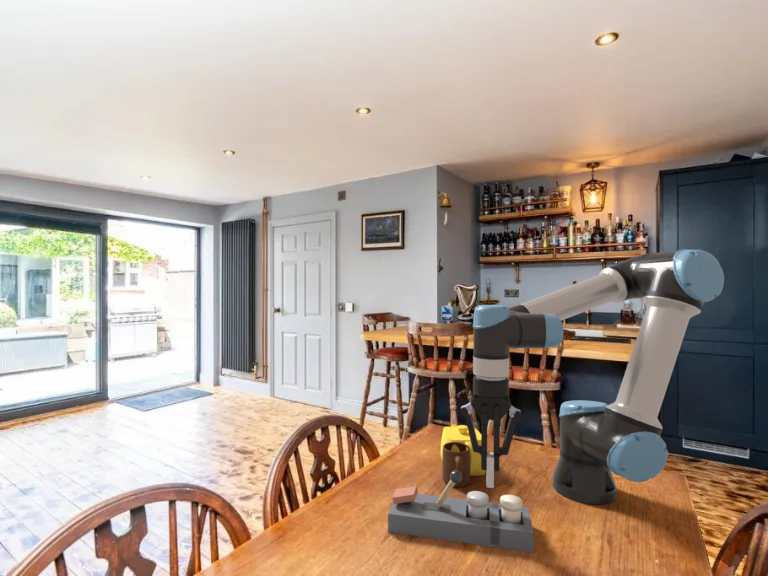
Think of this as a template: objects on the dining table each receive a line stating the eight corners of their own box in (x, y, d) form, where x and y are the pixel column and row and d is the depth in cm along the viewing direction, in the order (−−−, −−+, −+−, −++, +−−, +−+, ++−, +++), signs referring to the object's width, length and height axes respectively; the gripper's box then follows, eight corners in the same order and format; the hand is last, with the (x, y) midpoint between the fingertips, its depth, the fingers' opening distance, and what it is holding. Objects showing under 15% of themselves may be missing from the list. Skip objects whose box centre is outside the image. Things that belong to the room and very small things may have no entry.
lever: (443, 505, 93) (464, 472, 92) (442, 511, 91) (463, 478, 90) (433, 498, 94) (454, 466, 93) (432, 504, 91) (453, 471, 90)
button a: (521, 516, 90) (521, 496, 90) (523, 529, 86) (523, 507, 86) (499, 514, 91) (499, 493, 91) (500, 526, 87) (500, 504, 87)
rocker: (417, 491, 95) (416, 486, 95) (415, 500, 91) (413, 494, 91) (397, 495, 96) (395, 489, 96) (393, 503, 92) (392, 497, 93)
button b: (488, 512, 92) (488, 492, 92) (488, 524, 87) (488, 502, 87) (467, 510, 93) (467, 489, 93) (466, 521, 89) (466, 500, 88)
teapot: (435, 451, 133) (435, 414, 133) (473, 450, 134) (473, 414, 133) (448, 481, 113) (448, 438, 113) (492, 480, 114) (492, 437, 113)
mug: (474, 497, 104) (474, 460, 104) (444, 495, 105) (444, 459, 105) (468, 475, 116) (468, 442, 116) (441, 474, 117) (441, 441, 117)
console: (527, 524, 93) (528, 503, 93) (533, 552, 83) (533, 529, 83) (397, 507, 99) (397, 488, 99) (388, 532, 90) (388, 510, 90)
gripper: (520, 374, 91) (519, 480, 92) (461, 371, 94) (460, 473, 95) (524, 382, 84) (523, 497, 84) (459, 378, 87) (458, 489, 87)
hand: (490, 484), depth 90 cm, fingers closed
